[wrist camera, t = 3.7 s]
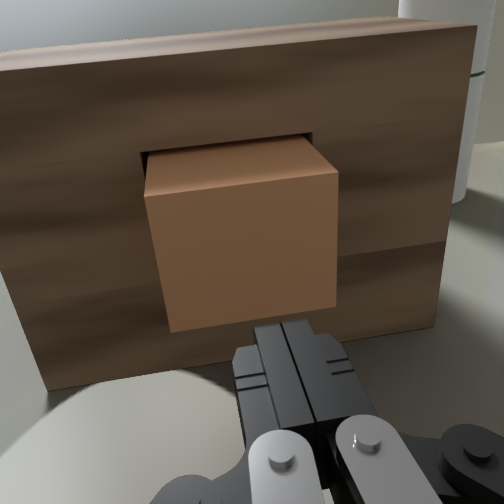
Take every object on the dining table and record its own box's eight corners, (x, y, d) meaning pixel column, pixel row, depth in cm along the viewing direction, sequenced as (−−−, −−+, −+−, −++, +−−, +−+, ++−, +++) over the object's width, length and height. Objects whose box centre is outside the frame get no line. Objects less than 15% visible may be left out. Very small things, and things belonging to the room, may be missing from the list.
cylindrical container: (413, 173, 49) (442, -129, 37) (479, 189, 44) (539, -153, 32) (370, 193, 46) (388, -137, 33) (438, 213, 41) (488, -164, 28)
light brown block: (336, 306, 20) (338, 172, 17) (170, 332, 19) (143, 196, 16) (292, 226, 27) (288, 121, 24) (169, 243, 26) (150, 136, 23)
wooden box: (434, 326, 28) (477, 24, 20) (47, 391, 25) (-75, 77, 18) (369, 247, 36) (382, 16, 29) (77, 290, 34) (4, 50, 26)
